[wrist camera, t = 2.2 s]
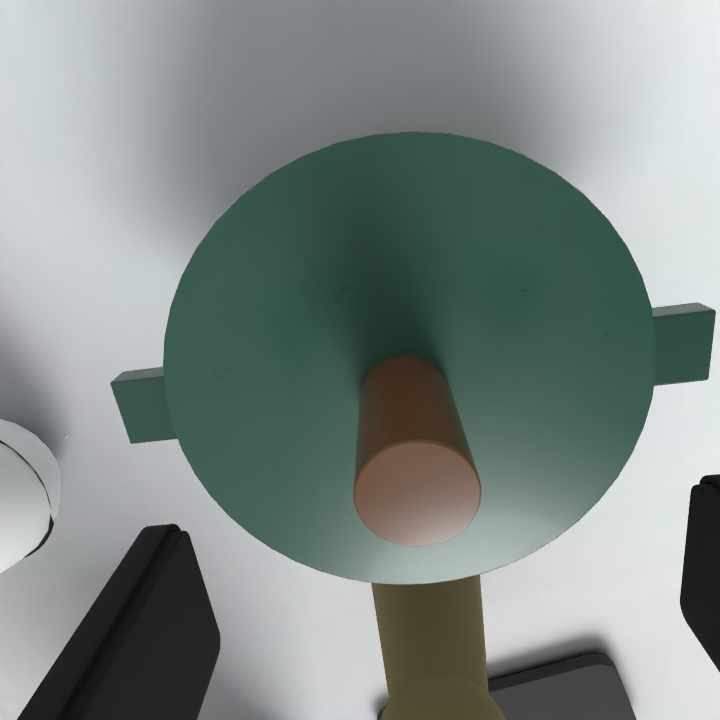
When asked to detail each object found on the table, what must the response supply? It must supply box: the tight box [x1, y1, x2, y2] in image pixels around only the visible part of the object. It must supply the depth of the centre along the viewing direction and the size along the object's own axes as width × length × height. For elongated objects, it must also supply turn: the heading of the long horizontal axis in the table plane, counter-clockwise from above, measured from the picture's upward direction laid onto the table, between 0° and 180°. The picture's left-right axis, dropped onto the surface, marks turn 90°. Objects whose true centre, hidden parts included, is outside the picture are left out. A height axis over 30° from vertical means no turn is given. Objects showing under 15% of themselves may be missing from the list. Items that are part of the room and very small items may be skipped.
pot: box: [111, 303, 716, 444], centre depth 20 cm, size 14×20×8 cm
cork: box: [372, 574, 505, 720], centre depth 23 cm, size 6×6×11 cm
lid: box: [163, 132, 656, 585], centre depth 14 cm, size 15×15×6 cm
